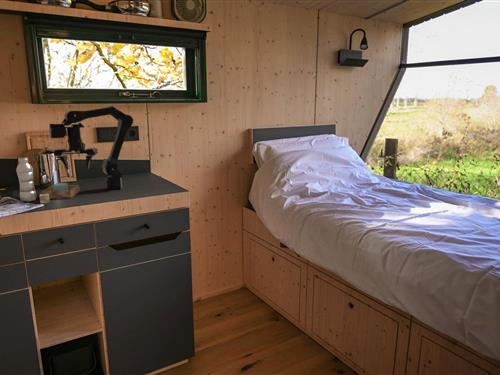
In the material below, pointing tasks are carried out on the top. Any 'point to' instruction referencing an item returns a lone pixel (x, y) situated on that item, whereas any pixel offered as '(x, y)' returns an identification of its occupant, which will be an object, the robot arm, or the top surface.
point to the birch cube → (44, 198)
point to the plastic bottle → (26, 180)
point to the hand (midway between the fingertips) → (78, 169)
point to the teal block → (60, 187)
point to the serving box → (62, 192)
